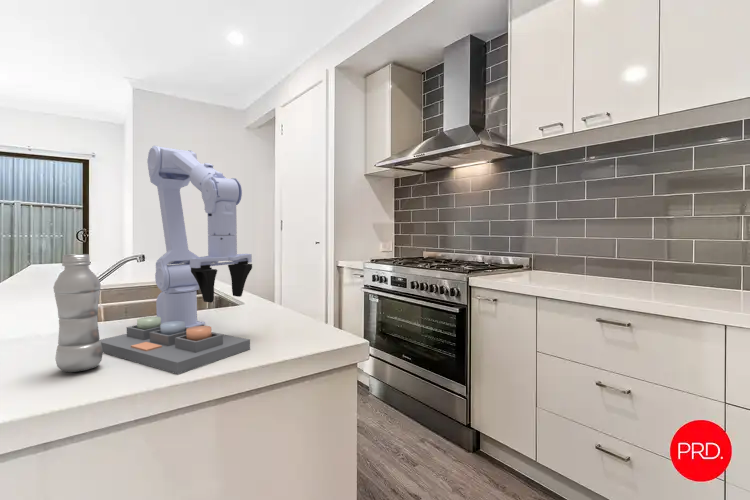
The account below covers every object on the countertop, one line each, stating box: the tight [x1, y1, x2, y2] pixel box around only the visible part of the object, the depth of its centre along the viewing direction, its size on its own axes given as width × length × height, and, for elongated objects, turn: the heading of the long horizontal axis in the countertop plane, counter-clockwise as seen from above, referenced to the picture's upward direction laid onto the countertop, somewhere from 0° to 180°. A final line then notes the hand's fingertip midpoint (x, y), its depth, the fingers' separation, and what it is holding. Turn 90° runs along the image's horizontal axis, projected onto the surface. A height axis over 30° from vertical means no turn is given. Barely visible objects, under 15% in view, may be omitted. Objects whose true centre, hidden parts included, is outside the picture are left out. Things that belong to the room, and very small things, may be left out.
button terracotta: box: [186, 325, 213, 341], centre depth 77 cm, size 4×4×2 cm
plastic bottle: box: [53, 253, 104, 373], centre depth 69 cm, size 6×7×20 cm
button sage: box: [136, 316, 161, 330], centre depth 85 cm, size 4×4×2 cm
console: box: [99, 323, 251, 375], centre depth 81 cm, size 26×16×4 cm, turn 61°
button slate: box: [160, 321, 185, 335], centre depth 81 cm, size 4×4×2 cm
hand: (223, 298), depth 86 cm, fingers open, 7 cm apart
